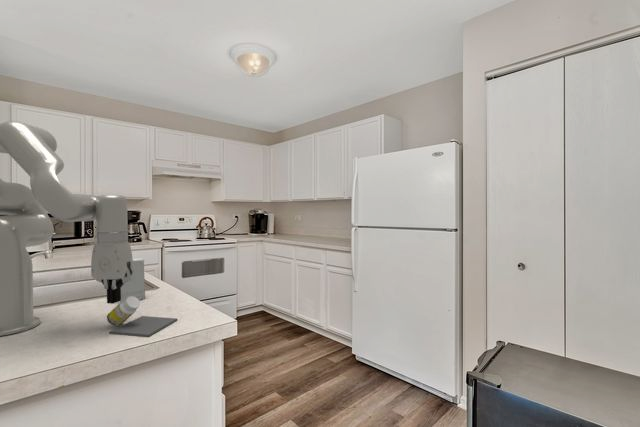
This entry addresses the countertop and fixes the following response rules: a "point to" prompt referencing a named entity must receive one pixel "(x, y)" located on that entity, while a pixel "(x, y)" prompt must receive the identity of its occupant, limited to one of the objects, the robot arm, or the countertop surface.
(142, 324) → the mat
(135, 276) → the skincare box
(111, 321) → the supplement bottle
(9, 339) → the countertop surface
